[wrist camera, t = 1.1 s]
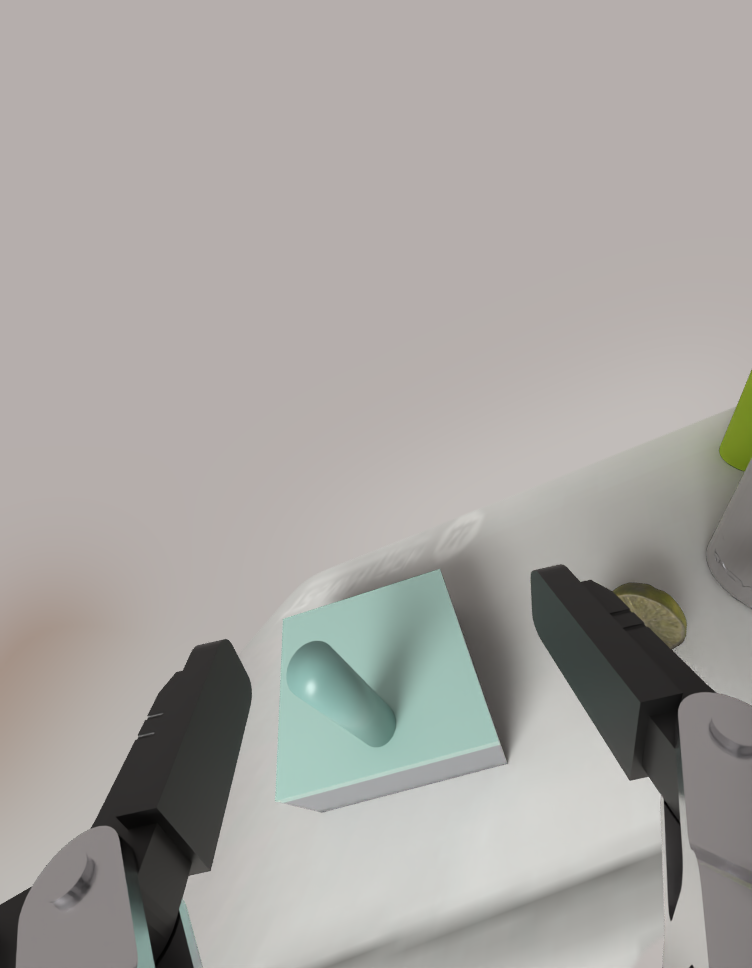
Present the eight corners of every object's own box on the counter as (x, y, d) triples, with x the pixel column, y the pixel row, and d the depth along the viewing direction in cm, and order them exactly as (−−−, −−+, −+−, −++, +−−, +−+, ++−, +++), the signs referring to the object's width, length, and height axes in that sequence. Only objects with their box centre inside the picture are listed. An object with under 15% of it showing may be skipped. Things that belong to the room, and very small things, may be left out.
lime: (688, 653, 27) (708, 623, 23) (616, 662, 28) (626, 634, 24) (654, 597, 30) (667, 564, 27) (591, 607, 31) (596, 576, 28)
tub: (454, 608, 34) (442, 575, 31) (507, 763, 26) (500, 744, 22) (316, 651, 36) (288, 624, 32) (321, 812, 27) (283, 802, 23)
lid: (444, 581, 31) (409, 484, 23) (501, 748, 22) (476, 683, 14) (293, 629, 33) (212, 552, 25) (290, 805, 24) (161, 773, 16)
